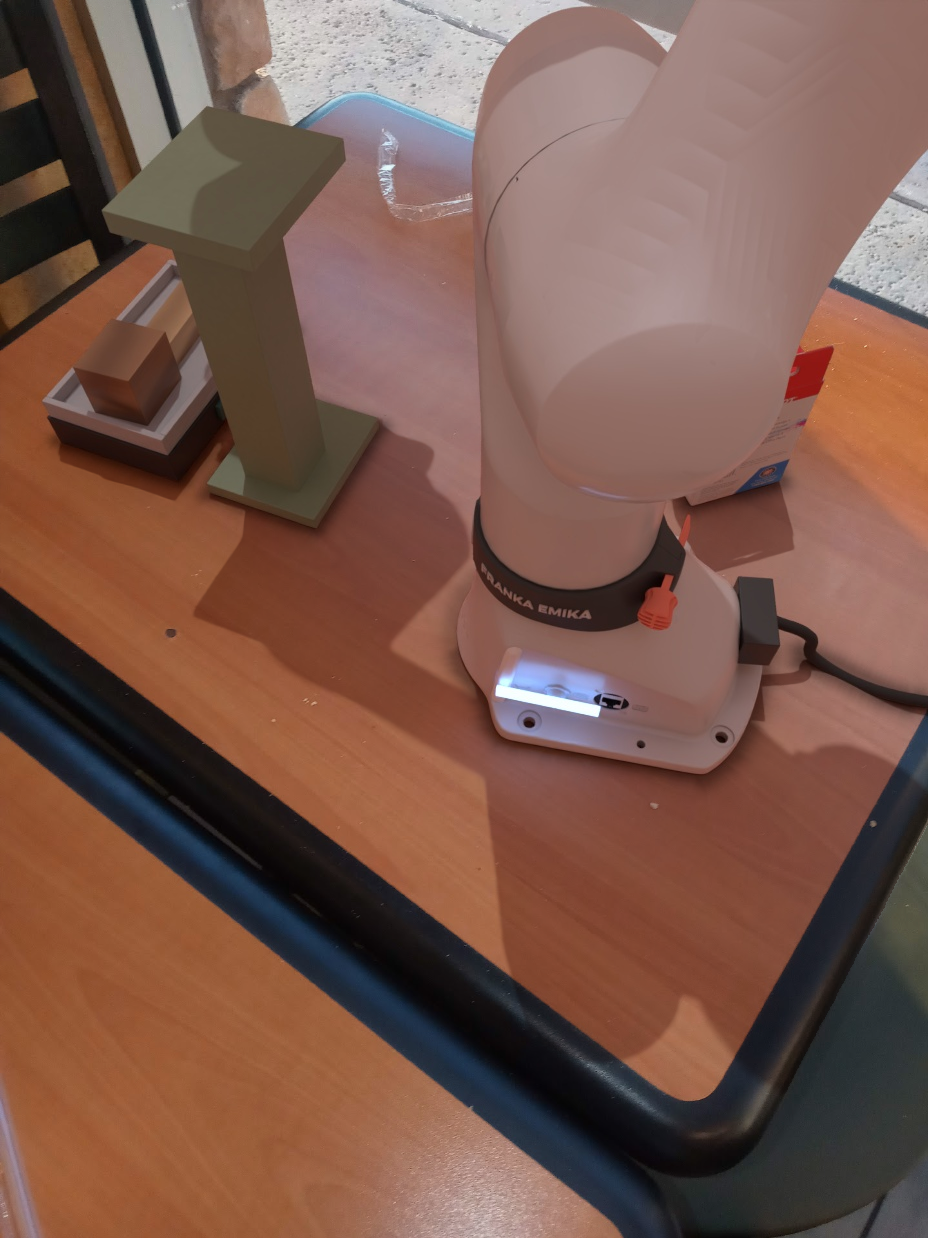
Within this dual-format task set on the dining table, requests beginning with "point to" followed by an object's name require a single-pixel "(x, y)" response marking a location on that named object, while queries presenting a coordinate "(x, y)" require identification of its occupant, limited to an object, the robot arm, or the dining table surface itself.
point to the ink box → (776, 431)
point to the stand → (250, 299)
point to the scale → (174, 426)
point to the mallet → (138, 361)
